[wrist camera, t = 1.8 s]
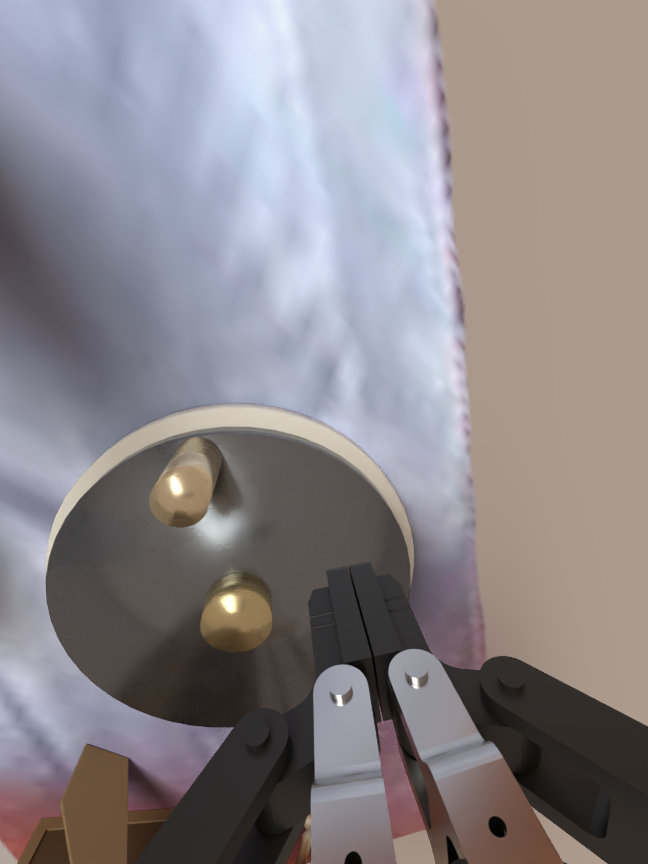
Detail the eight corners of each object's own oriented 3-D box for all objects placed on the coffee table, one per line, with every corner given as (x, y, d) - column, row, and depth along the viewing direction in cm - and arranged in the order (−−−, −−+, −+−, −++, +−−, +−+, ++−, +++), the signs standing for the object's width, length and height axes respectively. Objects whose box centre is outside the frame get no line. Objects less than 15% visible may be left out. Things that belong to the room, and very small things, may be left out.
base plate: (-4, 442, 29) (-23, 452, 27) (390, 372, 30) (398, 377, 29) (125, 720, 38) (118, 742, 37) (417, 655, 40) (424, 672, 38)
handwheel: (-6, 466, 27) (-108, 529, 20) (388, 395, 28) (427, 428, 21) (123, 738, 36) (86, 848, 29) (415, 671, 38) (449, 760, 30)
